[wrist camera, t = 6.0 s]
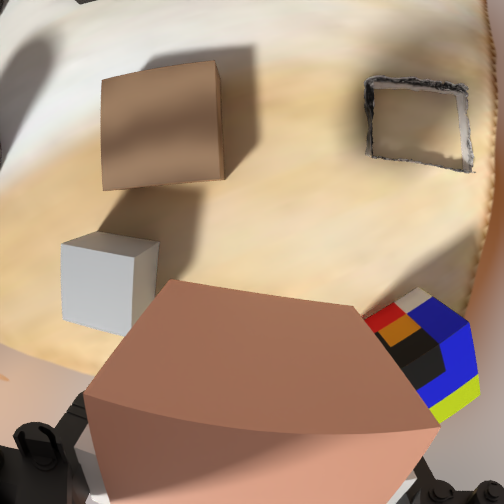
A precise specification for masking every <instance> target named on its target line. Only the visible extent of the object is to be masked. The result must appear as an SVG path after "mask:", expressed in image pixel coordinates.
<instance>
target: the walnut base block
mask: <svg viewBox="0 0 504 504" xmlns="http://www.w3.org/2000/svg"><path fill="white" fill-rule="evenodd" d="M101 165H102V184H103V191H110V190H124V189H133V188H141V187H150V186H160V185H170V184H180V183H192V182H204V181H217V180H225V169H224V151H223V130H222V109H221V85H220V76H219V73H218V69H217V66H216V63H215V60H213V61H203V62H195V63H187V64H180V65H173V66H166V67H160V68H155V69H149V70H144V71H139V72H134V73H129V74H125V75H120V76H116V77H112V78H108V79H104V80H102V86H101Z"/></svg>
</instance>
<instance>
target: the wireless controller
mask: <svg viewBox="0 0 504 504" xmlns="http://www.w3.org/2000/svg"><path fill="white" fill-rule="evenodd" d="M75 1H77V2H78V3H79V4H84V3H88V2H92V1H96V0H75Z"/></svg>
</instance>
